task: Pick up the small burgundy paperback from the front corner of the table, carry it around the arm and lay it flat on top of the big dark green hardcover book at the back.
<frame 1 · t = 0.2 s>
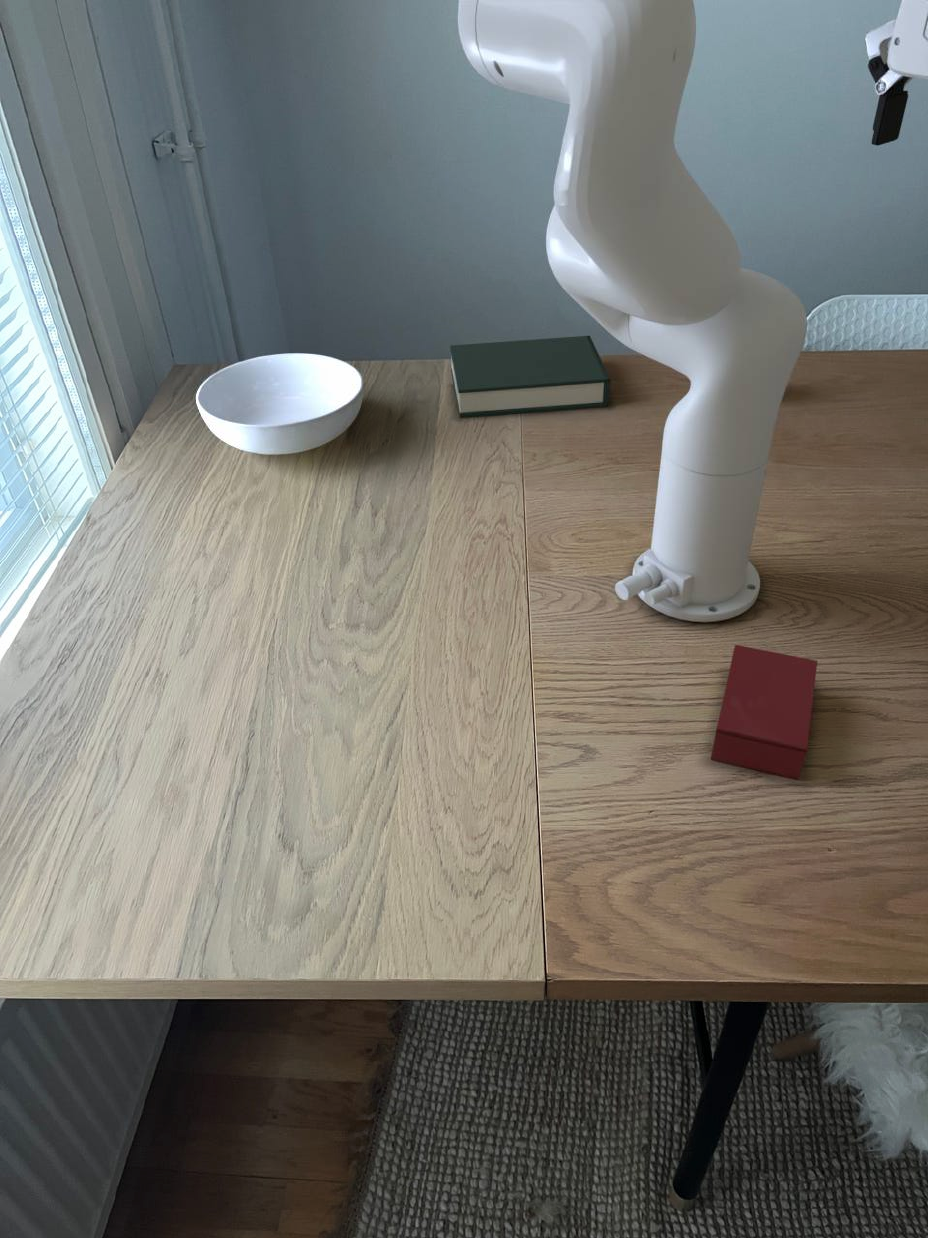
serving bowl: (288, 435, 124), on the table
hardcover: (526, 388, 131), on the table
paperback: (761, 723, 81), on the table
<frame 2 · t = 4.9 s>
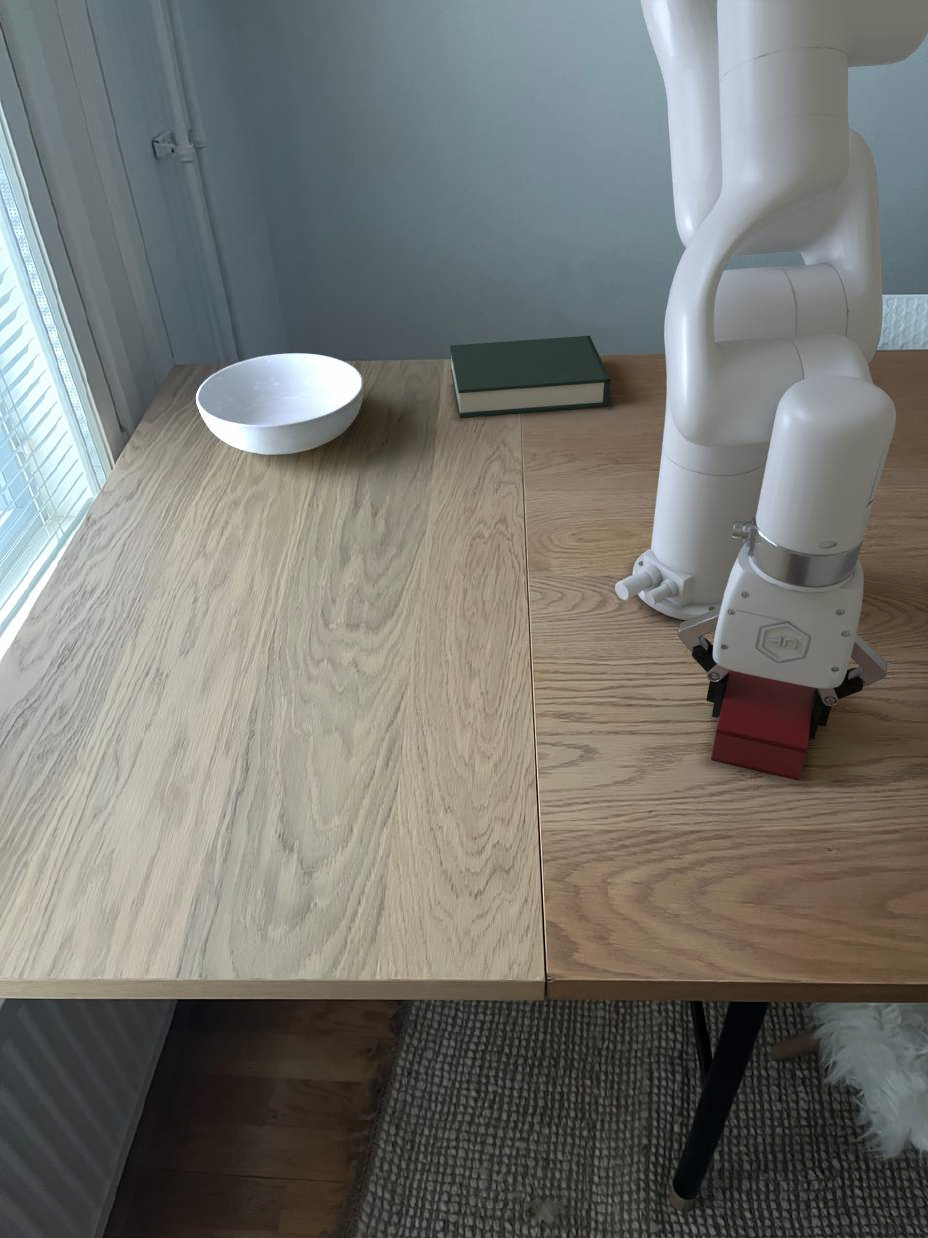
hand: (763, 715, 81), 1 cm above the table, tool pointing down, fingers closed on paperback, 7 cm apart
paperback: (762, 723, 81), on the table, touching gripper
everything else where it was.
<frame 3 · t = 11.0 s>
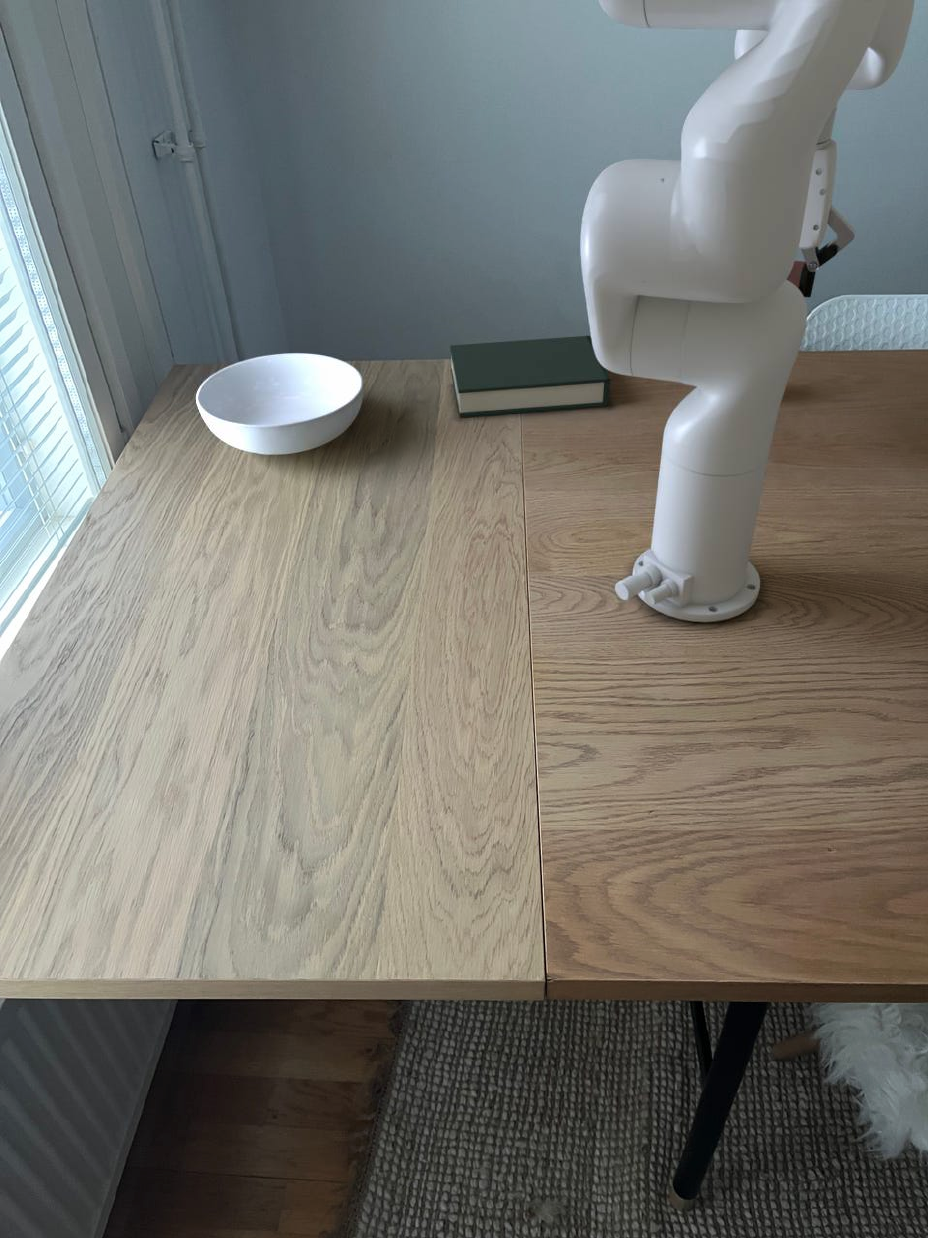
hand: (764, 297, 107), 18 cm above the table, tool pointing down, fingers closed on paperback, 7 cm apart
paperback: (763, 306, 108), point 17 cm above the table, touching gripper
everything else where it was.
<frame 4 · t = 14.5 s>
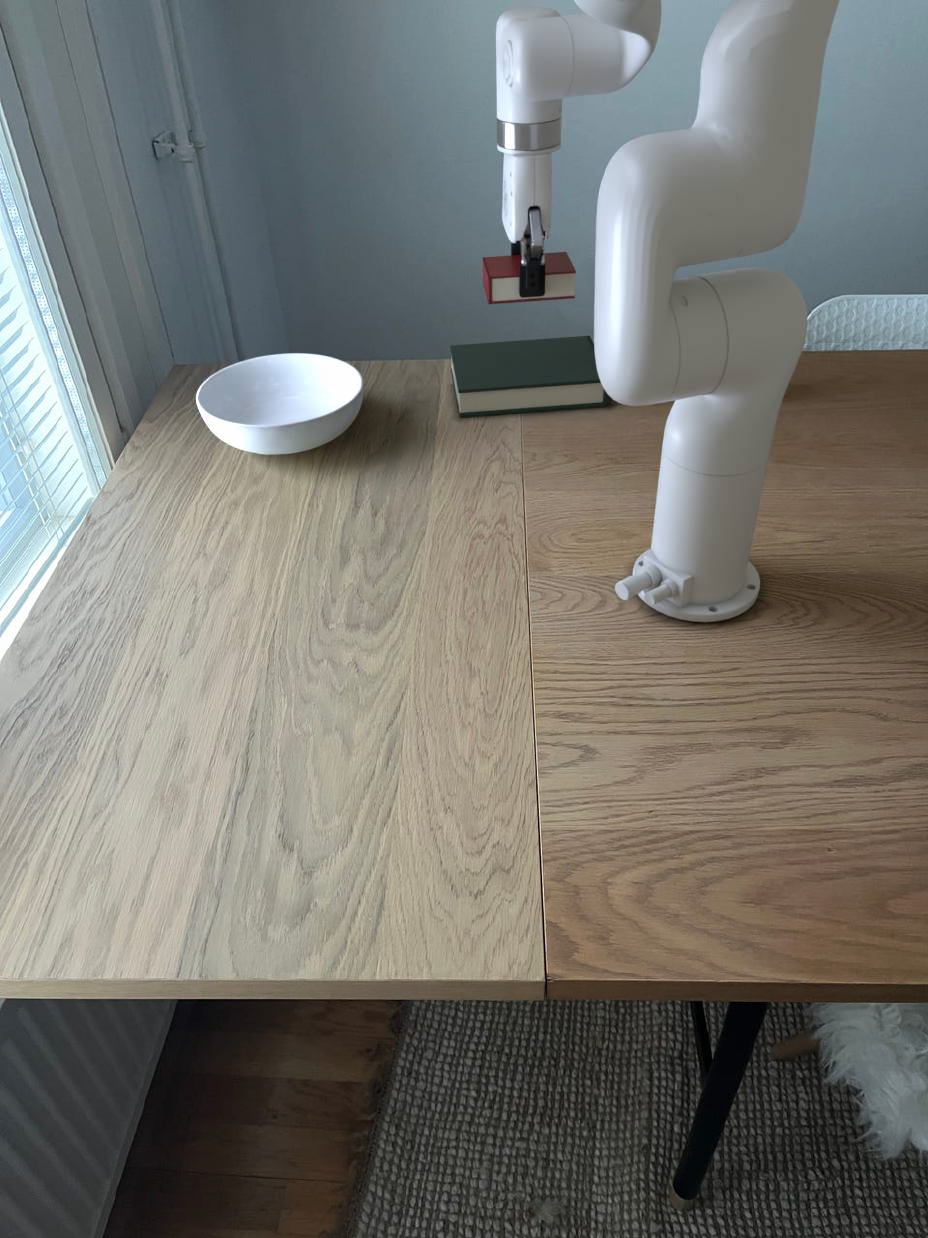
hand: (527, 283, 122), 15 cm above the table, tool pointing down, fingers closed on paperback, 7 cm apart
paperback: (527, 290, 123), point 14 cm above the table, touching gripper
everything else where it was.
when the fingers open (5 cm above the table, at t = 17.2 s): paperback stays where it is, resting on hardcover.
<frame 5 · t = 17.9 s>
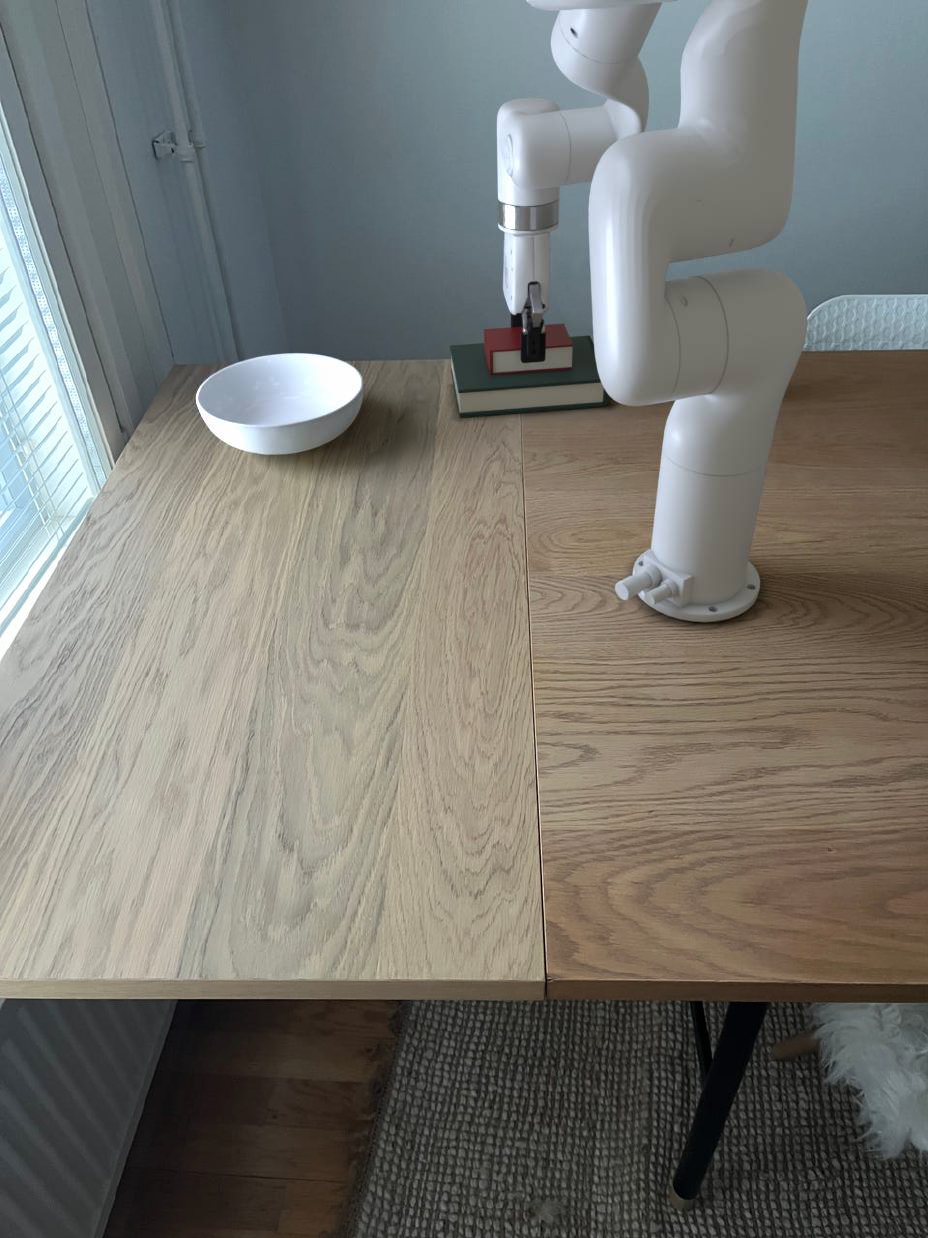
hand: (527, 346, 127), 6 cm above the table, tool pointing down, fingers open, 9 cm apart
hardcover: (526, 388, 131), on the table, touching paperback
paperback: (527, 361, 129), point 4 cm above the table, touching hardcover
everything else where it was.
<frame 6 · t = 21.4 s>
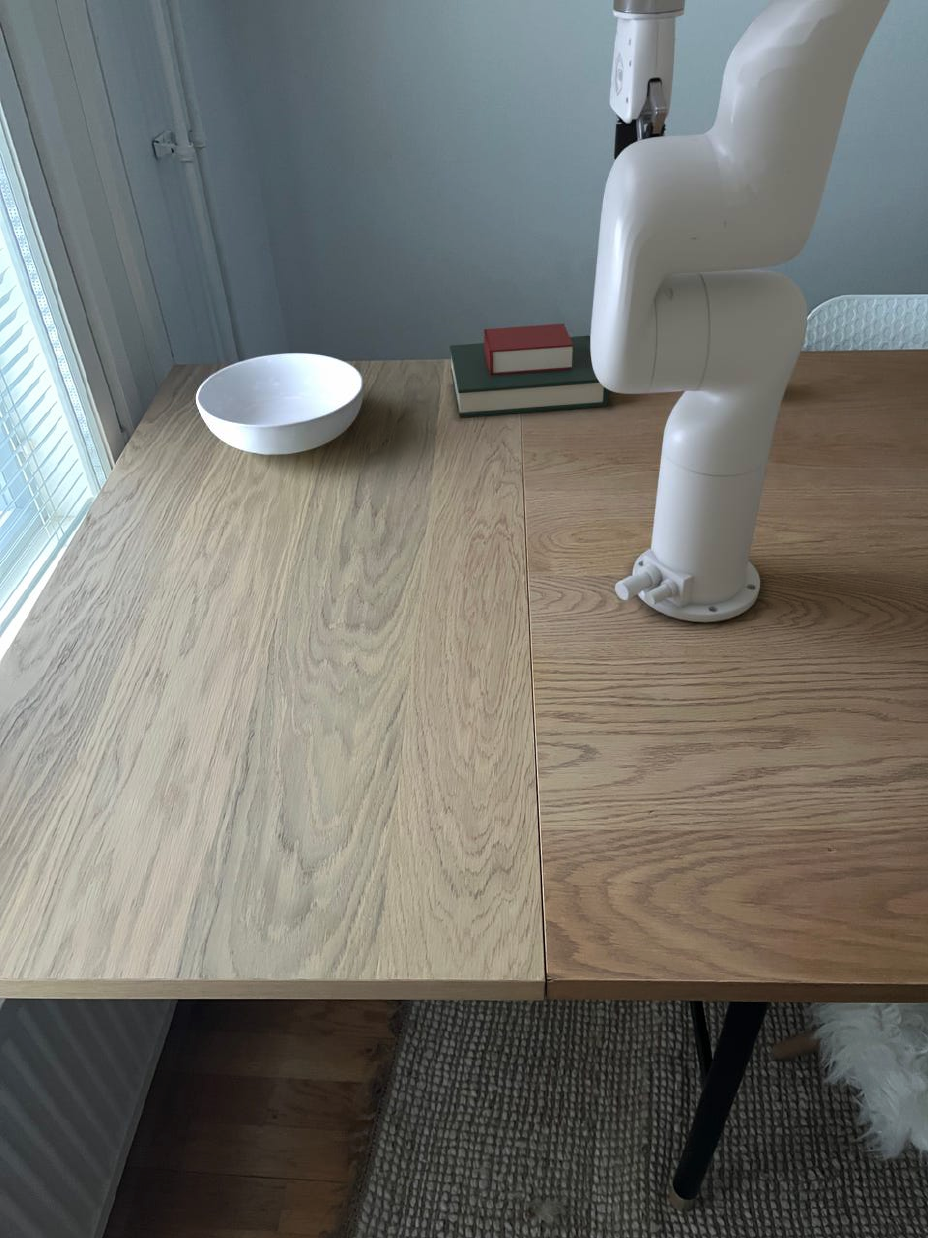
hand: (636, 170, 112), 28 cm above the table, tool pointing down, fingers open, 9 cm apart
nothing on the table moved.
at the end: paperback inside the target area on the hardcover (0.0 cm from its centre), point 4.0 cm above the hardcover's base; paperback tilted 0°; hardcover moved 0.0 cm from its start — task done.
